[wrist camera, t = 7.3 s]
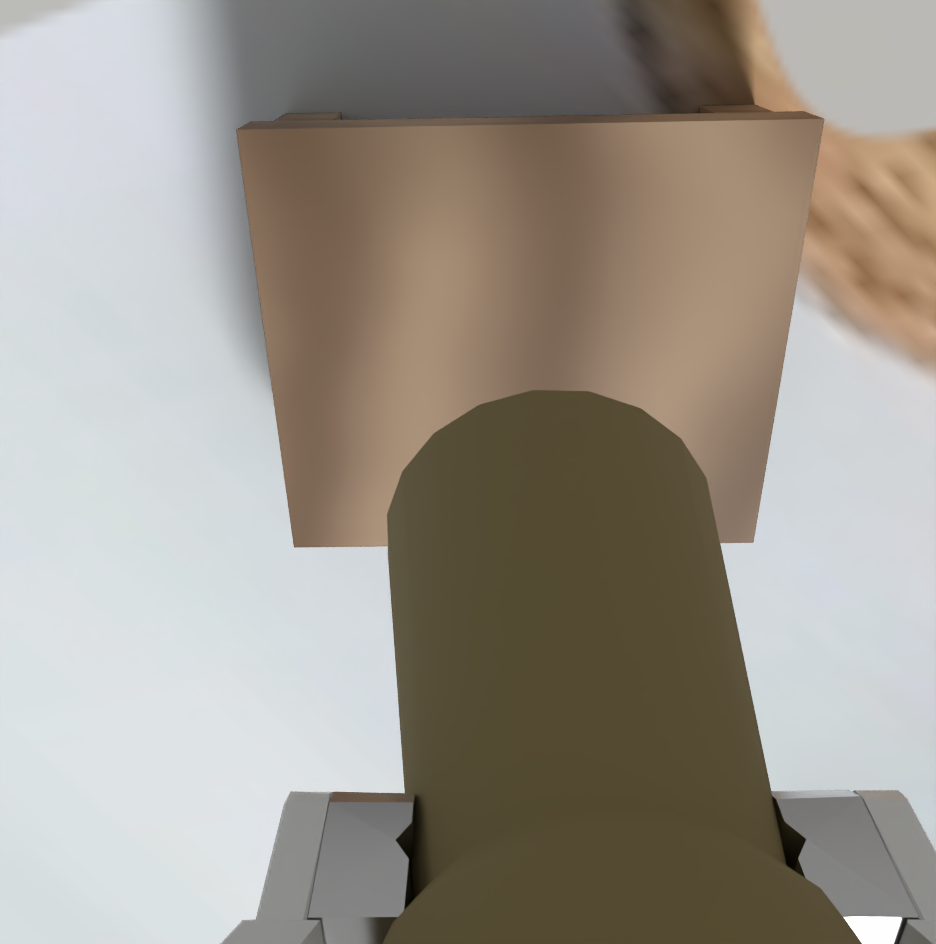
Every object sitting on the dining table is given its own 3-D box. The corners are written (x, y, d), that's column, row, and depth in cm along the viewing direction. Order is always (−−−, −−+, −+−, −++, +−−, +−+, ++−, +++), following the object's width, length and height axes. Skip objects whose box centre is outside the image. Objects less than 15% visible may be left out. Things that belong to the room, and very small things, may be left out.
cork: (715, 368, 14) (1208, 1133, 5) (714, 649, 17) (1020, 1481, 8) (355, 411, 15) (132, 1194, 5) (414, 679, 18) (343, 1502, 8)
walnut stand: (319, 469, 31) (294, 547, 27) (278, 105, 25) (235, 129, 21) (713, 464, 31) (753, 542, 26) (763, 97, 25) (824, 119, 21)
